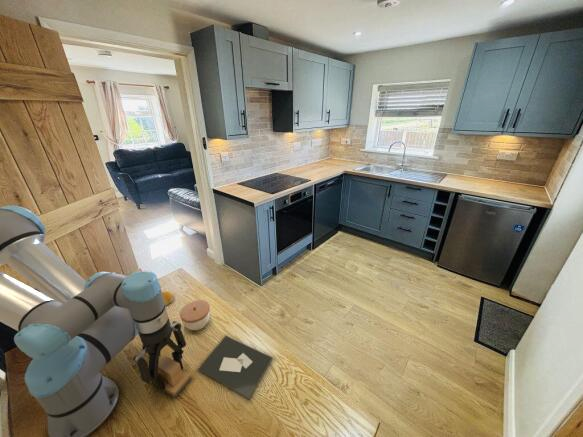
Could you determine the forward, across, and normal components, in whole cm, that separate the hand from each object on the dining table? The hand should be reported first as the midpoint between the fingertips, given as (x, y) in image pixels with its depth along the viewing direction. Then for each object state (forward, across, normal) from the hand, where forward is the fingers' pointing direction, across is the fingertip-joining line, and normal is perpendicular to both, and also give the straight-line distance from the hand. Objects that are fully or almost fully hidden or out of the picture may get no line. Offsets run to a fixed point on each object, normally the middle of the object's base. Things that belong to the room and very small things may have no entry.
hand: (170, 376), depth 74 cm
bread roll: (+2, +22, +32) cm, 39 cm away
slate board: (+2, +13, -15) cm, 20 cm away
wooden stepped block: (+2, 0, 0) cm, 2 cm away
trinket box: (+2, +20, +9) cm, 22 cm away
